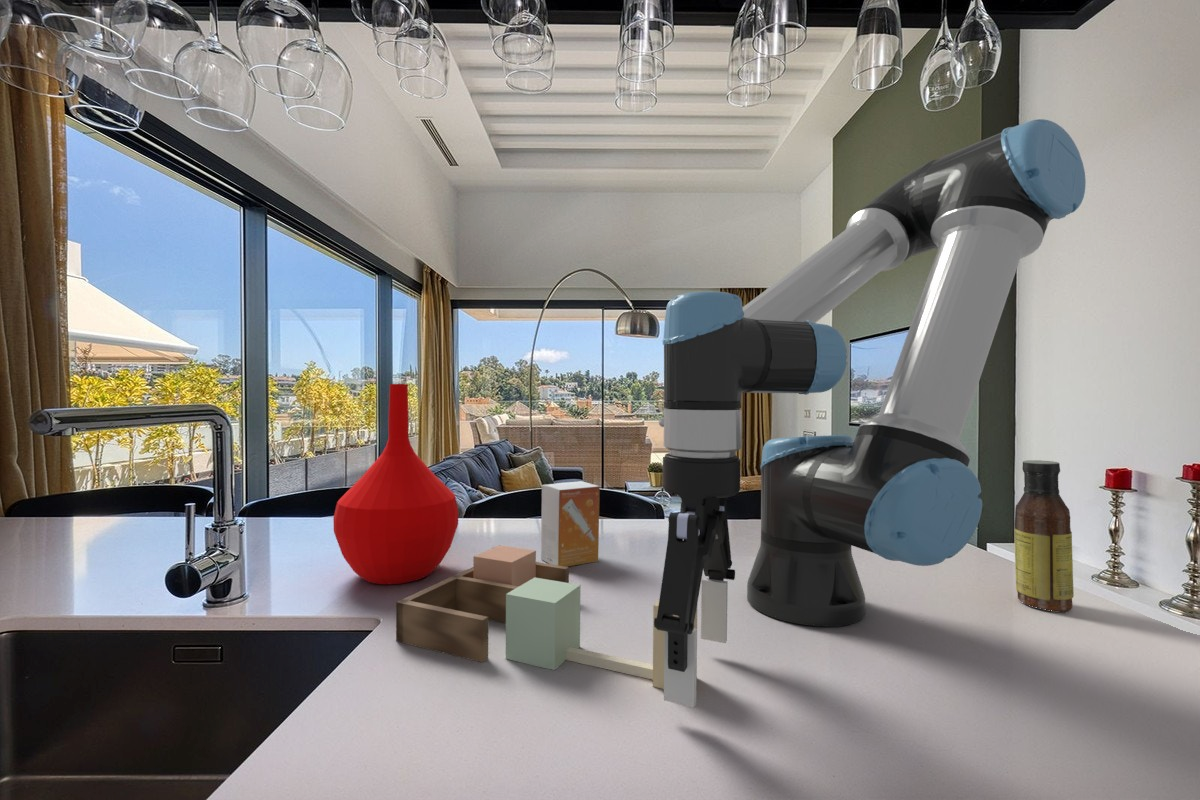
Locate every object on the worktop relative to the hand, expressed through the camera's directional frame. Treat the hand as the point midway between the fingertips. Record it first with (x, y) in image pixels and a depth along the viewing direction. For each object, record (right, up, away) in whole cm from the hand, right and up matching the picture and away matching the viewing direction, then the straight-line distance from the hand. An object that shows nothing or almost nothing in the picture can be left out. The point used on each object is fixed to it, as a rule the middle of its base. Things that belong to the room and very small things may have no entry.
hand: (698, 667), depth 55 cm
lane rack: (-24, -1, +16) cm, 28 cm away
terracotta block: (-23, -1, +20) cm, 31 cm away
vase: (-41, -1, +32) cm, 53 cm away
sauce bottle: (+51, -2, +22) cm, 56 cm away
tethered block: (-10, -2, +4) cm, 11 cm away
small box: (-15, -1, +40) cm, 43 cm away
